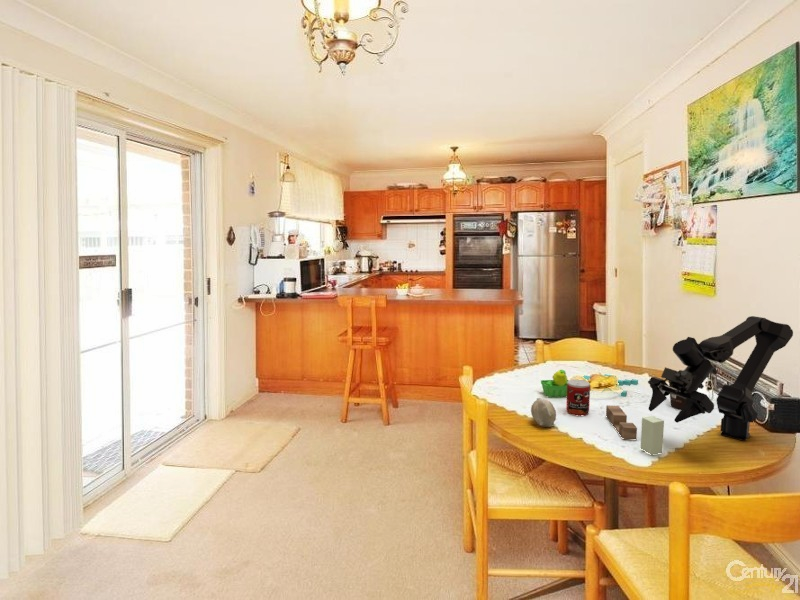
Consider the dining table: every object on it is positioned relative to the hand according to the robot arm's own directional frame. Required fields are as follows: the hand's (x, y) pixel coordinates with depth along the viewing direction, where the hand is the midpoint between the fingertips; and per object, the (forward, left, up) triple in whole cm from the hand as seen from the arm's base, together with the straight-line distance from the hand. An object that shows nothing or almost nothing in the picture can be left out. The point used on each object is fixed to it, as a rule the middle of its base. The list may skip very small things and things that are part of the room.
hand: (662, 415), depth 139 cm
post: (+1, +3, -11) cm, 11 cm away
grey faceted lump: (+34, +7, -11) cm, 37 cm away
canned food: (+31, -11, -11) cm, 35 cm away
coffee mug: (+8, -43, -11) cm, 45 cm away
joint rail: (+15, -8, -11) cm, 20 cm away
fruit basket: (+45, -22, -11) cm, 52 cm away
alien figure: (+37, -47, -11) cm, 61 cm away
